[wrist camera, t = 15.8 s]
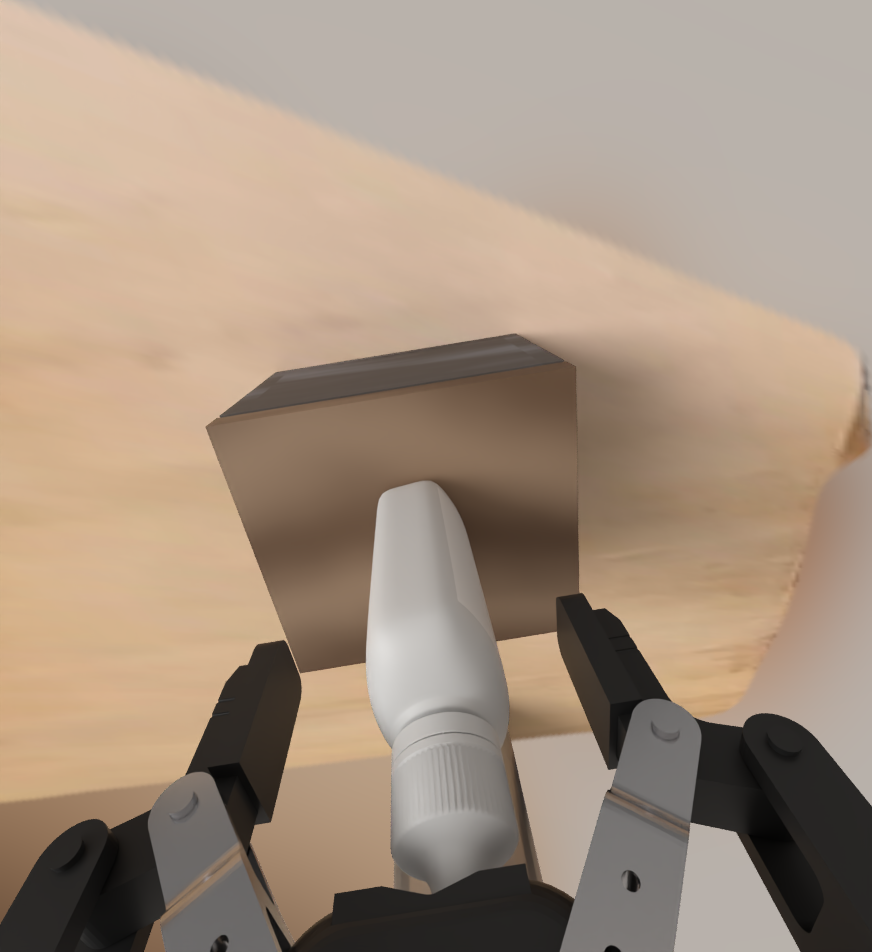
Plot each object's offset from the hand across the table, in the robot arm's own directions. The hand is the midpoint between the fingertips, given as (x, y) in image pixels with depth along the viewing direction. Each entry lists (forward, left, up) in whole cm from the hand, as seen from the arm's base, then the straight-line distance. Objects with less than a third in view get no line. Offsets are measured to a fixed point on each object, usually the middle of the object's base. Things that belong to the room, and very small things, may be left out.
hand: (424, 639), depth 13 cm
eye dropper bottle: (0, 0, -5) cm, 6 cm away
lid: (0, 0, -6) cm, 6 cm away
